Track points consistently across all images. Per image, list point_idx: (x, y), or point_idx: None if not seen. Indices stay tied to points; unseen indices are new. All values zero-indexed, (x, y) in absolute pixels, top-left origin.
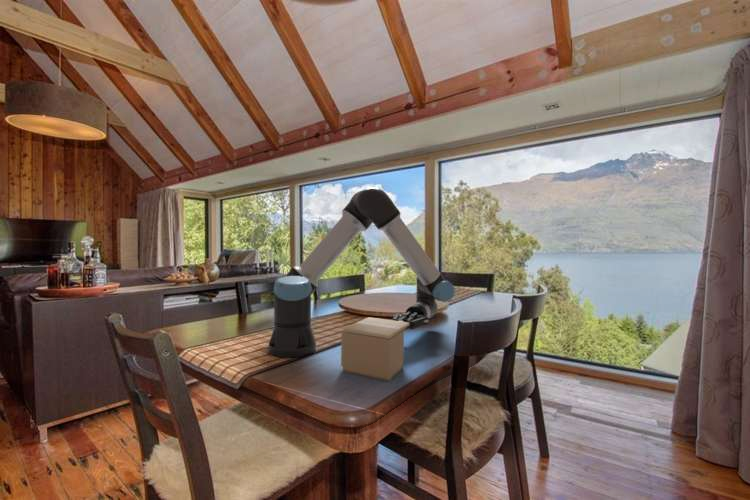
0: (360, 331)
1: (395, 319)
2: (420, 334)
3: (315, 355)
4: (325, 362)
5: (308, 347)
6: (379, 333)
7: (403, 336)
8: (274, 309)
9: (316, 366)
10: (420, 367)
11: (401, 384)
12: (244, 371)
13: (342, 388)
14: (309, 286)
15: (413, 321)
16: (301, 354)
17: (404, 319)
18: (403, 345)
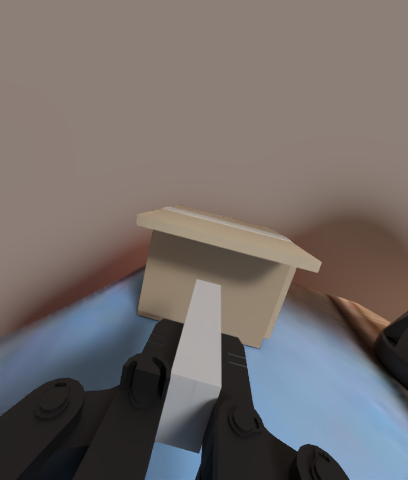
0: (235, 219)
1: (297, 457)
2: None
3: (367, 363)
4: (307, 331)
5: (389, 348)
6: (199, 210)
7: (152, 235)
8: None
9: (300, 316)
10: (80, 327)
11: (141, 275)
12: (347, 301)
13: None
14: None
15: (17, 413)
16: (376, 346)
17: (165, 364)
18: (147, 259)
